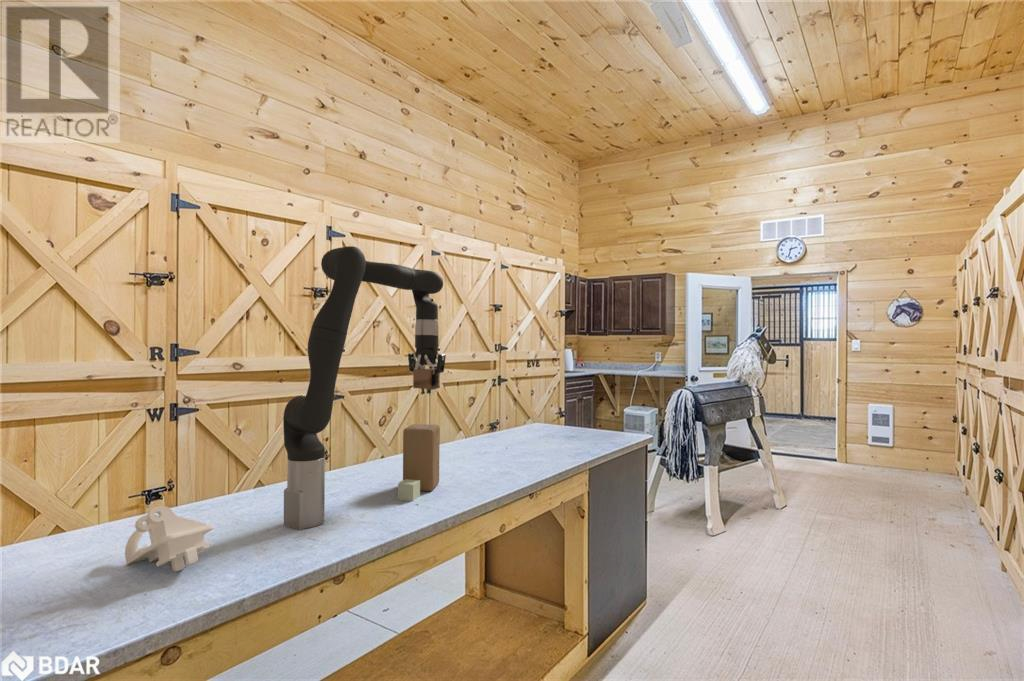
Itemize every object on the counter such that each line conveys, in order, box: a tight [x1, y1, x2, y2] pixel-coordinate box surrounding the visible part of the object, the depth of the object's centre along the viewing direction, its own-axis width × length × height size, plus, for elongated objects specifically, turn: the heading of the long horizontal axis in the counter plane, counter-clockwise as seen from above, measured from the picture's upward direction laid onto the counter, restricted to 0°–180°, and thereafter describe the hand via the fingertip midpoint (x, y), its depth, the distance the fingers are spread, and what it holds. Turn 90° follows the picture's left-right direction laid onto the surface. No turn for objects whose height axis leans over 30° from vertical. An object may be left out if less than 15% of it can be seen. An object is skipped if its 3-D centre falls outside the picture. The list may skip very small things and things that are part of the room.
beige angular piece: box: [124, 505, 215, 573], centre depth 114 cm, size 20×11×13 cm, turn 55°
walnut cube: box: [412, 367, 441, 390], centre depth 174 cm, size 6×6×6 cm
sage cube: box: [397, 479, 421, 502], centre depth 164 cm, size 5×5×5 cm
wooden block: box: [402, 423, 441, 492], centre depth 175 cm, size 10×10×20 cm
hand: (426, 385), depth 174 cm, fingers closed on walnut cube, 6 cm apart
